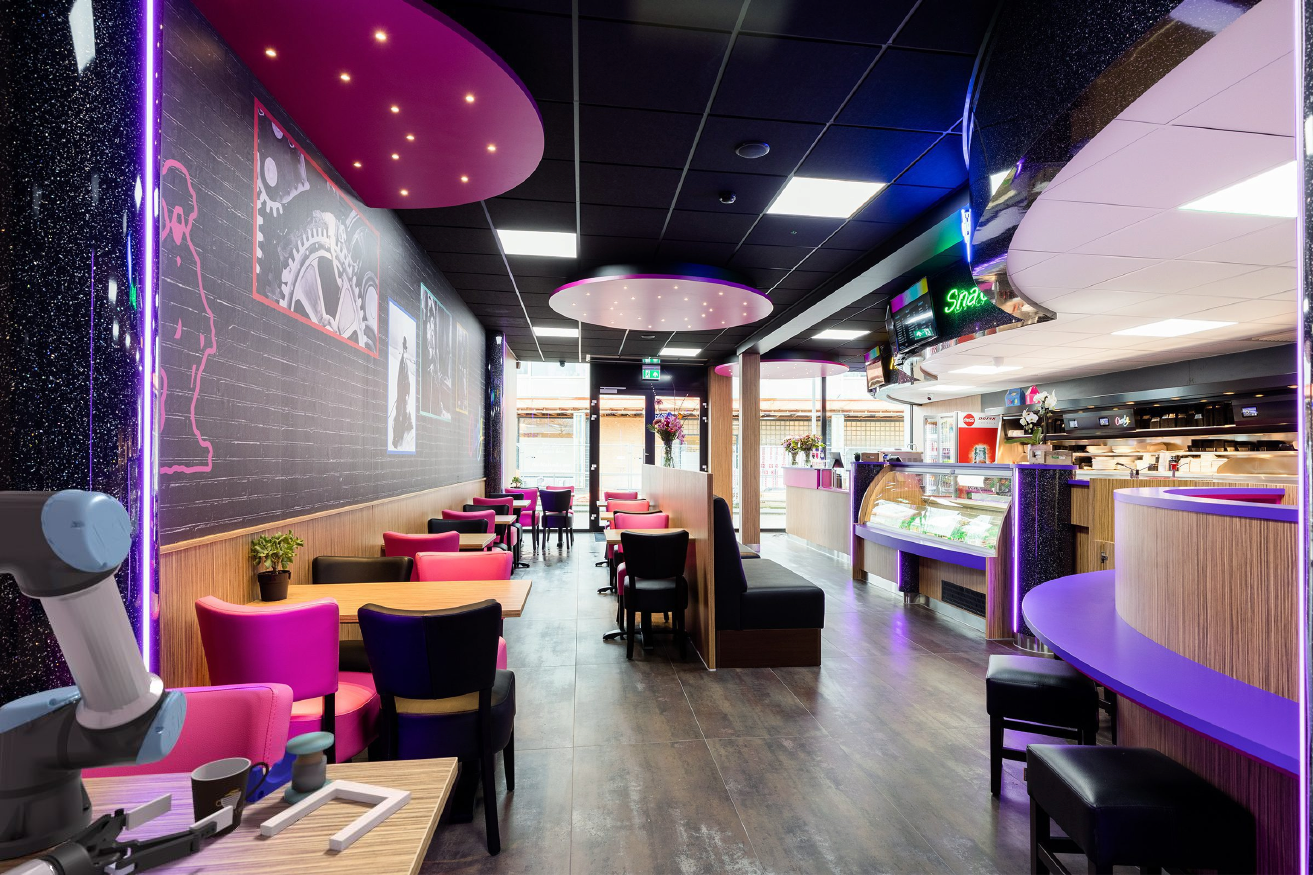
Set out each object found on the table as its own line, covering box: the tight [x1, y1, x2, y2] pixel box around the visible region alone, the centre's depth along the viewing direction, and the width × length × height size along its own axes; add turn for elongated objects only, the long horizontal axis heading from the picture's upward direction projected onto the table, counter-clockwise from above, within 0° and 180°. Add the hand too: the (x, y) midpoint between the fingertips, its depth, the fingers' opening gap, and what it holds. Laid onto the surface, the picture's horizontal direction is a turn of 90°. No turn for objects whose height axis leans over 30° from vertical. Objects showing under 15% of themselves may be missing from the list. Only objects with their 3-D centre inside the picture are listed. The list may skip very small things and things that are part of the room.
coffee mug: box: [190, 757, 270, 840], centre depth 110 cm, size 12×9×10 cm
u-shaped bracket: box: [259, 779, 412, 852], centre depth 113 cm, size 17×17×2 cm
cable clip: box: [244, 745, 297, 804], centre depth 124 cm, size 12×4×6 cm, turn 169°
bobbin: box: [283, 731, 335, 805], centre depth 121 cm, size 8×8×10 cm
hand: (199, 807), depth 104 cm, fingers open, 13 cm apart
